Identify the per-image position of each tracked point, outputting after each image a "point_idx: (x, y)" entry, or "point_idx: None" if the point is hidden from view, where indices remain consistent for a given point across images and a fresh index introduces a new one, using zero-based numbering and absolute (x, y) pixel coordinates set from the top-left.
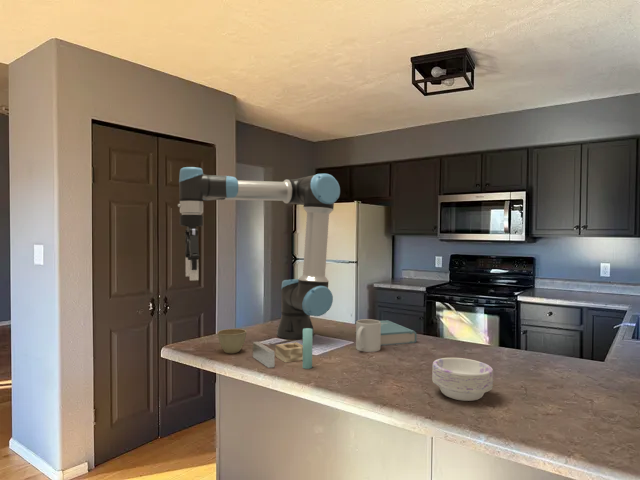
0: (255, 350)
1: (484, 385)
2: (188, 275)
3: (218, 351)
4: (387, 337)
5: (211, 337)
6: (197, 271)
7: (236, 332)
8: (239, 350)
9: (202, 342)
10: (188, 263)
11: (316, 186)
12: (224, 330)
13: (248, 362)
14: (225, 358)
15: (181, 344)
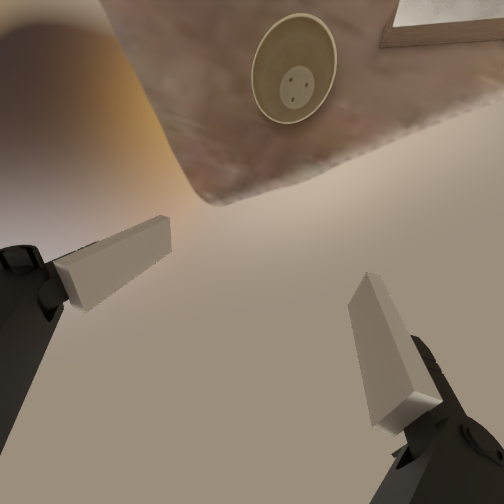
0: (411, 35)
1: None
2: (168, 242)
3: None
4: None
5: (157, 97)
6: (393, 314)
7: (265, 48)
8: (313, 69)
9: (192, 132)
10: (119, 274)
11: None
12: (254, 90)
13: (415, 81)
14: (341, 126)
15: (194, 176)
